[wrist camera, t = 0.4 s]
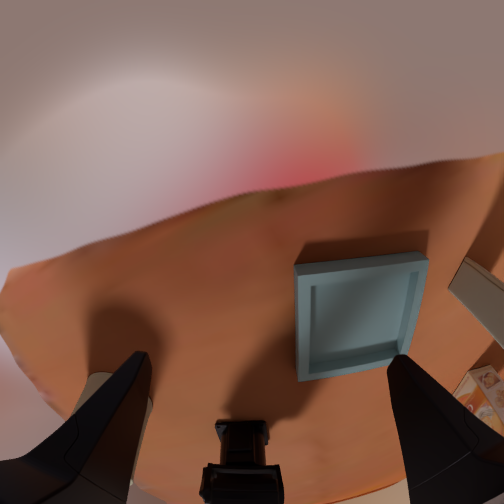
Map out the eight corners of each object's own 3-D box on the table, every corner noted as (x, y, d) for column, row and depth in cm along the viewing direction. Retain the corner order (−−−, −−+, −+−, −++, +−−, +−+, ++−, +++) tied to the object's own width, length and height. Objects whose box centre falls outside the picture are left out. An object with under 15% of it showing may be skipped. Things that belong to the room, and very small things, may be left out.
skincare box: (489, 271, 24) (554, 325, 13) (471, 303, 26) (530, 364, 15) (464, 254, 23) (541, 314, 12) (444, 290, 25) (511, 360, 14)
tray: (398, 349, 28) (405, 360, 26) (295, 368, 28) (298, 382, 26) (418, 250, 23) (429, 259, 21) (293, 264, 23) (297, 275, 21)
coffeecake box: (467, 370, 31) (523, 459, 13) (491, 363, 31) (545, 439, 13) (426, 427, 37) (461, 506, 18) (452, 418, 37) (488, 490, 19)
